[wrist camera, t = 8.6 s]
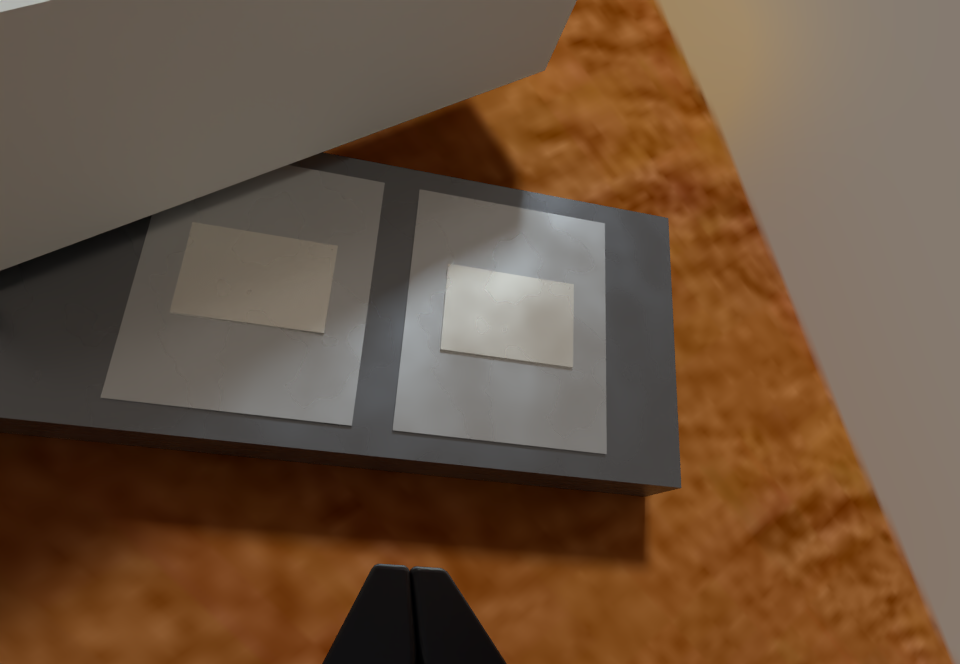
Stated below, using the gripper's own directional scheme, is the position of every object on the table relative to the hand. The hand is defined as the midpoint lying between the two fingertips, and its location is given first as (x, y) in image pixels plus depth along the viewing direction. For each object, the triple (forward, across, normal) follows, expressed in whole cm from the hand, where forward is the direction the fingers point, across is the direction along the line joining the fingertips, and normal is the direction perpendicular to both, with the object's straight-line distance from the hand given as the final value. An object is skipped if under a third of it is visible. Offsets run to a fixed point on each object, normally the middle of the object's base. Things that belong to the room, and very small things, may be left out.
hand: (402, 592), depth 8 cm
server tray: (+16, +2, +4) cm, 16 cm away
